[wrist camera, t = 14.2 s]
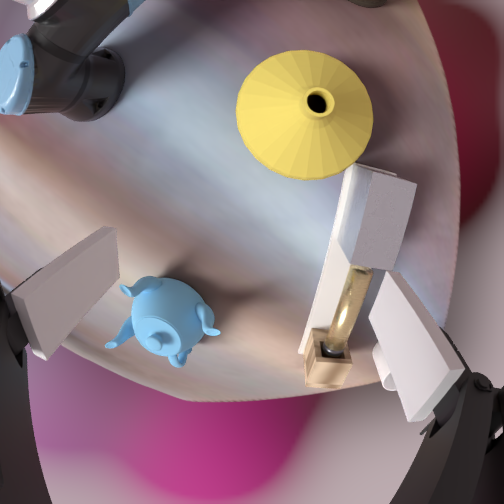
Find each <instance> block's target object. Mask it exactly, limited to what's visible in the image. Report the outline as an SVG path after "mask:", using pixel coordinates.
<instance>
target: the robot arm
mask: <svg viewBox="0 0 504 504" xmlns="http://www.w3.org/2000/svg"><path fill="white" fill-rule="evenodd" d="M13 1H16V2H19V3H22V4H24V5H26V6H27V13H28V19H30V20H32V21H34V22H35V23H34V24H33V25H32V27H31V28H30V29H29V31H28V32H27V33H26V35H25V34H19V35H15V36H13V37H12V38H11V39H10V40H8V41H7V42H6V43H5V45H4V46H3V47H2V49H1V51H0V113H2V114H15V115H22V114H35V113H55V112H58V113H60V114H62V115H64V116H66V117H67V118H69V119H71V120H74V121H79V122H87V121H93V120H96V119H98V118H100V117H101V116H103V115H104V114H106V113H107V112H108V111H109V110H110V109H111V108H112V106H113V105H114V104H115V102H116V101H117V99H118V97H119V95H120V93H121V90H122V88H123V84H124V78H125V69H124V64H123V62H122V59H121V58H120V56H119V55H118V54H117V53H115V52H114V51H112V50H109V49H107V48H103V47H98V46H99V45H100V43H101V42H102V41H103V40H104V39H105V38H106V37H107V36H108V35H109V34H110V33H111V32H112V31H113V30H114V29H115V28H116V27H117V26H118V25H119V24H120V23H121V22H122V21H123V20H124V19H125V18H127V17H130V16H131V15H132V13H133V11H134V10H135V9H136V8H137V7H139V6H140V5H141V4H142V3H143V2H144V1H145V0H13ZM119 278H120V274H119V263H118V249H117V230H116V228H113V227H106V226H103V227H102V228H100V229H99V230H97V231H96V232H94V233H92V234H91V235H89V236H88V237H86V238H85V239H83V240H82V241H80V242H79V243H77V244H76V245H75V246H73V247H72V248H70V249H69V250H67V251H66V252H64V253H63V254H62V255H60V256H59V257H57V258H56V259H55V260H53V261H52V262H51V263H49V264H48V265H46V266H45V267H43V268H41V269H39V270H38V271H36V272H35V273H34V274H32V276H30V277H29V278H27V279H26V281H23V282H22V283H21V284H20V285H18V286H17V287H16V288H15V289H13V290H12V291H11V292H10V293H9V294H7V295H6V296H4V292H3V289H2V286H1V282H0V504H52V502H51V499H50V496H49V493H48V489H47V487H46V483H45V480H44V477H43V472H42V469H41V465H40V461H39V456H38V453H37V448H36V442H35V437H34V431H33V425H32V419H31V412H30V402H29V391H28V376H27V353H26V350H25V348H24V347H25V346H26V345H27V344H28V343H29V344H30V347H31V349H32V351H33V353H34V354H35V355H37V356H39V357H41V358H42V359H44V360H46V361H47V360H48V359H49V358H50V356H51V355H52V354H53V353H54V351H55V350H56V349H57V348H58V346H59V345H60V344H61V343H62V342H63V340H64V339H65V338H66V337H67V336H68V334H69V333H70V332H71V331H72V330H73V329H74V327H75V326H76V325H77V324H78V323H79V322H80V320H81V319H82V318H83V317H84V316H85V315H86V314H87V312H88V311H89V310H90V309H91V308H92V307H93V306H94V305H95V304H96V302H97V301H98V300H99V299H100V298H101V297H102V296H103V295H104V294H105V293H106V292H107V290H108V289H109V288H110V287H111V286H112V285H113V284H114V283H115V282H116V281H117V280H118V279H119ZM368 318H369V320H370V322H371V325H372V327H373V329H374V332H375V334H376V336H377V339H378V341H379V344H380V346H381V349H382V351H383V354H384V356H385V359H386V361H387V364H388V367H389V369H390V372H391V374H392V377H393V380H394V383H395V385H396V388H397V391H398V394H399V397H400V399H401V402H402V405H403V408H404V411H405V414H406V417H407V420H408V422H415V421H422V420H424V419H425V418H426V417H427V416H428V415H429V414H430V413H431V412H432V411H434V414H435V418H434V419H433V420H432V421H431V422H430V423H429V424H428V425H427V426H426V427H425V428H424V429H423V430H422V432H421V433H420V435H422V434H424V432H426V431H427V432H426V435H425V437H424V440H423V442H422V444H421V446H420V448H419V451H418V453H417V455H416V457H415V459H414V461H413V463H412V465H411V467H410V469H409V471H408V473H407V475H406V477H405V478H404V480H403V482H402V484H401V485H400V487H399V489H398V491H397V492H396V494H395V496H394V497H393V499H392V501H391V502H390V504H504V386H503V387H502V388H501V389H499V388H494V387H493V385H492V383H491V381H490V380H489V379H488V378H487V377H486V376H484V375H483V374H480V373H478V372H473V373H472V372H471V370H470V369H469V367H468V365H467V364H466V362H465V360H464V359H463V357H462V355H461V354H460V352H459V351H457V348H456V346H455V344H453V341H452V340H451V339H450V337H449V335H448V334H447V333H446V332H445V331H444V330H442V329H441V328H440V327H439V326H438V325H437V323H436V322H435V320H434V319H433V317H432V316H431V315H430V313H429V312H428V310H427V309H426V308H425V306H424V305H423V303H422V302H421V301H420V299H419V298H418V296H417V295H416V294H415V292H414V291H413V290H412V288H411V287H410V286H409V284H408V283H407V282H406V280H405V279H404V278H403V277H402V275H401V274H400V273H398V272H392V271H386V273H385V276H384V279H383V282H382V284H381V287H380V290H379V292H378V295H377V297H376V300H375V303H374V305H373V307H372V310H371V312H370V315H369V317H368ZM502 426H503V433H502V434H501V435H500V436H499V437H498V438H496V439H495V433H496V432H497V431H498V430H499V429H500V428H501V427H502Z"/></svg>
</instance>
